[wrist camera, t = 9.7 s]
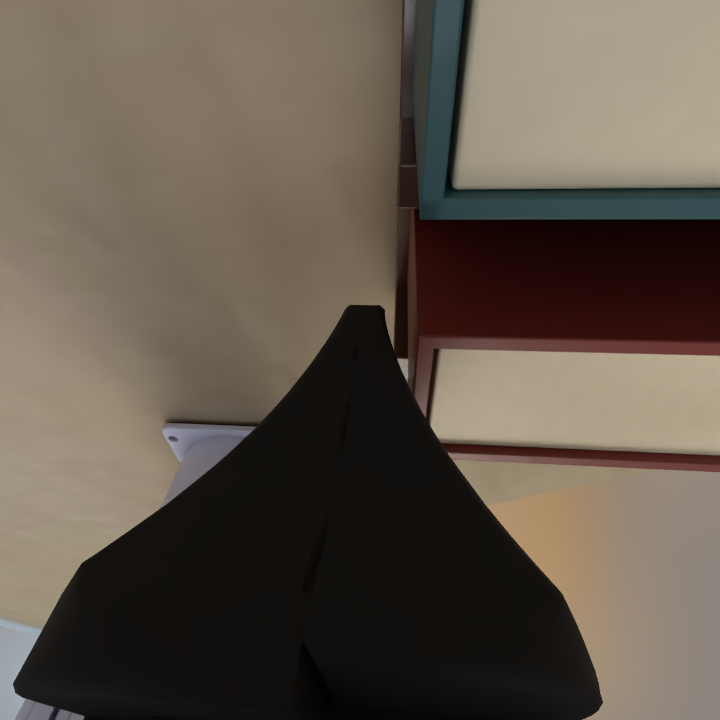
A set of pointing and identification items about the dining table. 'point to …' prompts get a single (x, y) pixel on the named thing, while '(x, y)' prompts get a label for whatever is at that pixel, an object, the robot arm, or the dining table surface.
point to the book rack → (405, 183)
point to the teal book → (567, 109)
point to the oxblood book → (568, 340)
